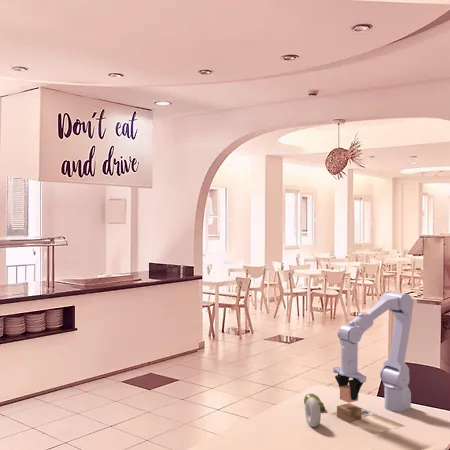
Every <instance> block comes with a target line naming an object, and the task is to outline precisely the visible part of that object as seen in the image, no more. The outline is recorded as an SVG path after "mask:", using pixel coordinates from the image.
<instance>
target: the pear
mask: <svg viewBox="0 0 450 450" xmlns="http://www.w3.org/2000/svg"><path fill="white" fill-rule="evenodd" d="M311 397H313V398H315V399H316V400H317V401H318V403H319V406H320V412H323V411H325V410H326V407H325V406H324V404H325V403H323V402H322V401H321V399H320V397H319V396H318V395H316V394H315V393H308V394H306V395H305V396H304V398H303V402H304V406H305V405H306V401H307V400H308V399H309V398H311Z"/></svg>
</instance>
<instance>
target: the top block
mask: <svg viewBox="0 0 450 450" xmlns="http://www.w3.org/2000/svg"><path fill="white" fill-rule="evenodd" d="M339 400H342V401H343V402H345V403H347V404H348V403H350V404H351V403H354V402H358V401H359V396H358V397H357V399H356V400H352V399H351V390H350V385H349V384H348V385H345V386H340V388H339Z"/></svg>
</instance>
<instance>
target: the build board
mask: <svg viewBox="0 0 450 450" xmlns="http://www.w3.org/2000/svg"><path fill="white" fill-rule="evenodd" d="M360 408H361V419H360V420H357V421H353V422H347V421H344V420H342V419H340V418H338V417H337V411H335V412H332V413H331V412H330V413H328V415H329V416H332V417H334V418H336V419H338V420H341V421H342V422H345V423H347V424H349V425H352V426H353V427H356V428H358V429H360V430H362V431H365V432H367V433H369V434H371V435H377V434H381V433H384V432H387V431H391V430H395V429H398V428H401V427H405V425H404V424H402V423H400V422H397V421H394V420H392V419H390V418H387V417H385V416H383V415H380V414H378V413H375V412H372V411H370V410H368V409H366V408H363V407H360Z"/></svg>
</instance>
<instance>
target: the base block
mask: <svg viewBox="0 0 450 450" xmlns="http://www.w3.org/2000/svg"><path fill="white" fill-rule="evenodd" d="M361 408H362V407H360V406H357V405H356V404H352V403H351V402H350V403H348V402H347V403H346V404H345V403H344V404H339V405H337V406H336V412H337V417H338V418H340V419H342V420H344V421H343V422H345V421H347V422H353V421H357V420H360V419H361ZM338 418H337V419H338ZM340 419H339V420H340ZM342 420H341V421H342ZM347 422H346V423H347Z"/></svg>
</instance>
